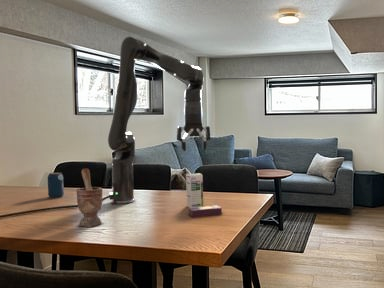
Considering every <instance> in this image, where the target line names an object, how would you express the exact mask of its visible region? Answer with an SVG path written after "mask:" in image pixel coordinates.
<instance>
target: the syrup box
mask: <svg viewBox="0 0 384 288" xmlns="http://www.w3.org/2000/svg"><path fill="white" fill-rule="evenodd" d="M203 178H204V177H203V174H202V173H201V172H197V173H196V172H195V173H186V174H185V181H186V182H185V184H186V187H185V188H186V206H187V207H188V209H189V208H197V207H204V179H203Z"/></svg>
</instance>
